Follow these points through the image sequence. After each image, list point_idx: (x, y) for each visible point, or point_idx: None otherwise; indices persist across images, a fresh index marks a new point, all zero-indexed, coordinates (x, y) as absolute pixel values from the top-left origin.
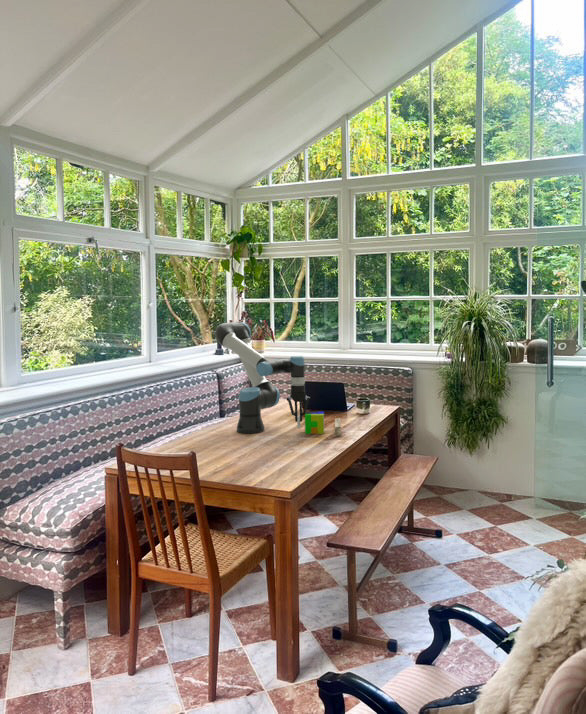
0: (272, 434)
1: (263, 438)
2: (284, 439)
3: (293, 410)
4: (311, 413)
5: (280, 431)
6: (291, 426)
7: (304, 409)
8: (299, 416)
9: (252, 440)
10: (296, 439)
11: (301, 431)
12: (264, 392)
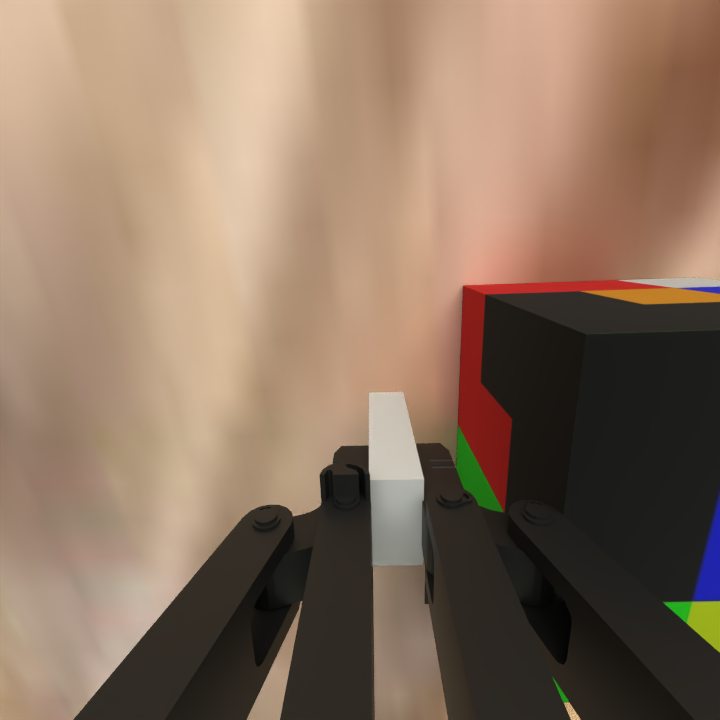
0: (129, 523)
1: (98, 651)
2: (285, 674)
3: (260, 589)
4: (703, 556)
5: (174, 398)
6: (248, 97)
7: (594, 717)
8: (416, 562)
9: (33, 704)
10: (386, 672)
11: (411, 389)
12: None
